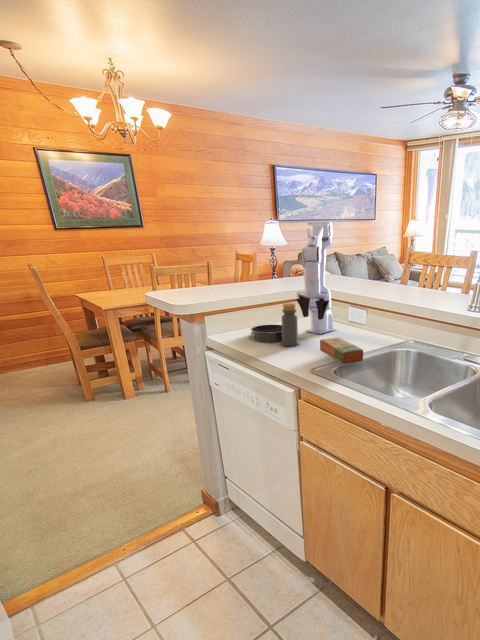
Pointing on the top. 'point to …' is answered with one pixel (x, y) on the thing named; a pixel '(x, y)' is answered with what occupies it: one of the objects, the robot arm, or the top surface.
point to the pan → (267, 333)
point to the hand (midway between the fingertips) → (313, 318)
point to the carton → (341, 350)
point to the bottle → (289, 325)
